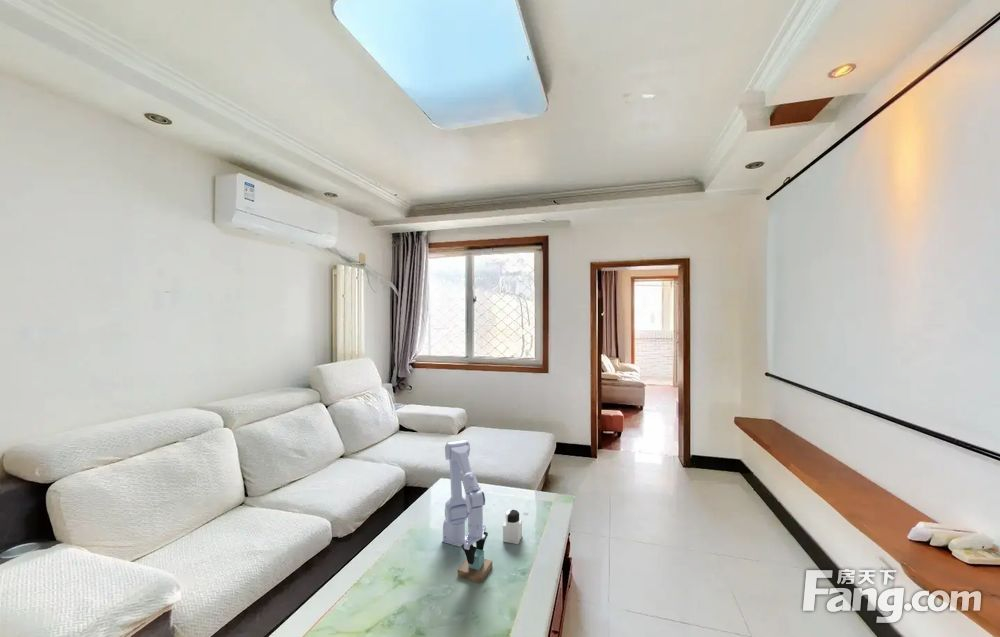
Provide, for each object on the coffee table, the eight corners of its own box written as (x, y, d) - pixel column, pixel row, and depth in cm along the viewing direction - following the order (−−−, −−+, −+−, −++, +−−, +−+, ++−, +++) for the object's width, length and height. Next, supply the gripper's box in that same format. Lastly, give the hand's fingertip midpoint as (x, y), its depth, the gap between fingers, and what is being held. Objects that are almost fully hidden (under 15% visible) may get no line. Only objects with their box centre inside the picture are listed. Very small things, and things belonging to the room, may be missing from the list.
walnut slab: (457, 577, 146) (457, 569, 145) (470, 561, 155) (470, 554, 155) (481, 584, 142) (481, 576, 142) (492, 568, 151) (492, 560, 151)
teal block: (468, 567, 147) (468, 554, 147) (473, 560, 151) (473, 547, 151) (479, 570, 145) (479, 557, 145) (484, 563, 149) (484, 550, 149)
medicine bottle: (522, 535, 172) (522, 509, 172) (518, 544, 165) (518, 517, 165) (506, 533, 174) (506, 506, 174) (502, 542, 167) (502, 514, 167)
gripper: (475, 534, 140) (475, 571, 140) (492, 515, 153) (492, 549, 153) (459, 530, 143) (459, 566, 143) (476, 512, 156) (476, 545, 156)
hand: (475, 557), depth 148 cm, fingers open, 7 cm apart
